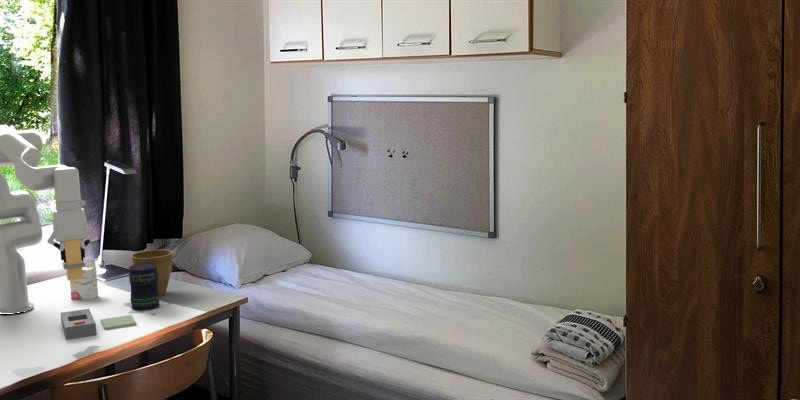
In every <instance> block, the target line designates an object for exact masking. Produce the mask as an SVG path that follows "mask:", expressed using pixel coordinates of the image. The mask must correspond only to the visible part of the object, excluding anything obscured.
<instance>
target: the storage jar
mask: <svg viewBox="0 0 800 400" xmlns="http://www.w3.org/2000/svg"><path fill="white" fill-rule="evenodd" d="M128 278H129V283H130V284H129V285H130V303H131V310H133V311H136V312H137V311H138V312H147V311H151V310H155V309H158V308H159V307H160V306H161V305H160V296H159V291H158V285H157V281H158V272H157V265H156V264H152V263H143V264H136V265H133V264H132V265H130V266H128Z"/></svg>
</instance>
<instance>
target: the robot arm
mask: <svg viewBox="0 0 800 400" xmlns="http://www.w3.org/2000/svg"><path fill="white" fill-rule="evenodd" d="M42 149H43V138H42V137H41V136H40V134H38V132H35V131H33V130H19V131H8V132H4V133H2V134H0V167H10V166H11V167H12V166H14V168H13V169H14V174H15V178H16V179H17V181H18V182H19V183H20V184H21V185H22V186H24V187H25V188H26V189H28V190H30V191H34V192H39V191H46V190H53V189H54V198H55V210H53V216H52V217H53V218H52V223H53V224H52V228H53V229H52V231H53V232H52V233H51V234H50V236H49V237H48V239H47V244H50V245H52V246H53V247H55V248H56V249H57V250H59V251H60V252H59V253H60V260H61V261H62V262H64V263H66V253H65V249H64V245H65V241H70V240H79V239H80V249H81V261H83V259H86V251H85V249H86V247H87V246H88V245H89V244H90V243H91V242H92V241H93V240H95V239H96V236H95V234H93V232H92V231H91V230H90V229H89V227H88V226H89V225H88V222H87V217H86V211H85V208H83V207H84V206H86V205H87V201H86V200H83V199H82V196H81V184H80V173H79V172H80V171H79V170H78V168H76V167H74V166H73V167H72V166H67V165H65V164H64V165H63V164H55V165H45V166H38V165H39V164H40V161H41V159H42V154H41V152H42ZM17 218H19V220H17V221H11V222H5V223H1V224H0V312H1V313H17V312H24V311H27V312H29V311H28V310H30V311H32V310H33V309H34V308H35V307H34V303H33V302H29V292H28V281H27V280H28V279H27V273H26V271H27V270H26V262H25V259H24V257H23V256H22V255H21V254H20V253H19V252H18V249H21V248H26V247H31V246H35V245H38V244H40V242H41V241H42V240H43V230H42V229H43V227H42V224H41V220H40V216H39V212H38V208H37V204H36V201H35V199H34V196H33V195H32V194H31V193H30V192H29V191H27V190H15V191H14V190H13V191H11V190H10V188H9V184H8V179H7V178H6V176H5V175H3V173H2V172H0V221H5V220H10V219H17ZM58 242H59V243H58ZM31 309H32V310H31ZM24 313H25V312H24Z"/></svg>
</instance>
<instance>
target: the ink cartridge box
mask: <svg viewBox="0 0 800 400" xmlns="http://www.w3.org/2000/svg"><path fill="white" fill-rule="evenodd" d="M83 260H84V262H85V267H82V273H83V279H77V280H69V286H70V298H71V300H86V301H87V300H88V301H89V300H94V299H95V298H97V297H98V296H99V289H98V277H97V276H98V275H97V266H96V259H95V258H83ZM87 262H88V263H87Z"/></svg>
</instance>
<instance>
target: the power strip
mask: <svg viewBox="0 0 800 400" xmlns="http://www.w3.org/2000/svg"><path fill="white" fill-rule="evenodd" d="M60 321H61V322H60V323H61V327H62V330H63V333H64V337H65V340H74V339H79V338H84V337H85V338H86V337H91V336H92V337H93V336H96V335H97V324H96V321H95V319H94V316H93V314H92V312H91V309H90V308H84V309H78V310H77V309H76V310H70V311H63V312H60Z"/></svg>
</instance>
